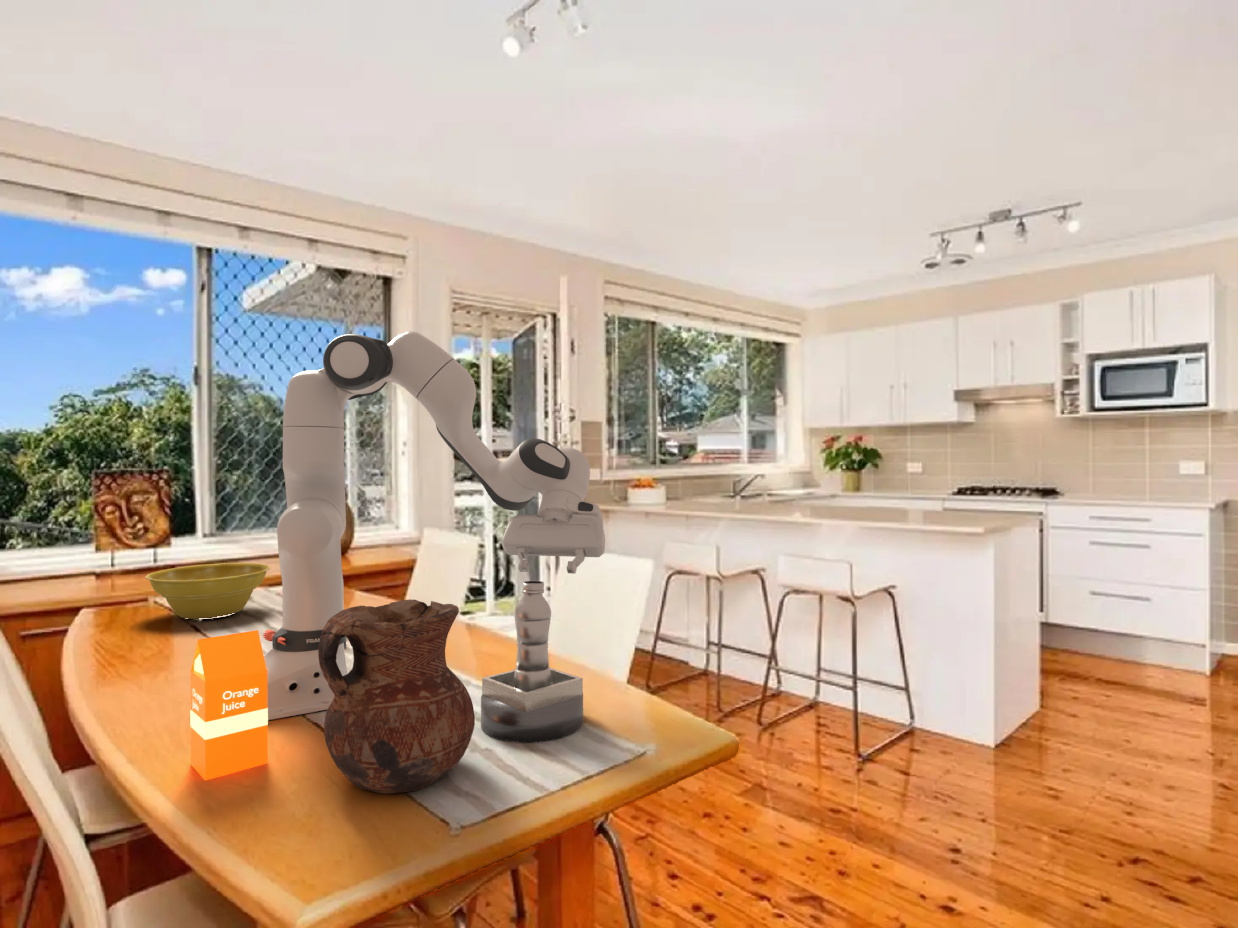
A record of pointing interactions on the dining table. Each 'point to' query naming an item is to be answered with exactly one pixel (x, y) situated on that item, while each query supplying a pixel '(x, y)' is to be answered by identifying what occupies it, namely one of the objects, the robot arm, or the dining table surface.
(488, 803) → the dining table surface
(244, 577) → the planter bowl
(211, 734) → the orange juice
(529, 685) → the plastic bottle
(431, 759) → the jug
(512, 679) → the disc with square tube
